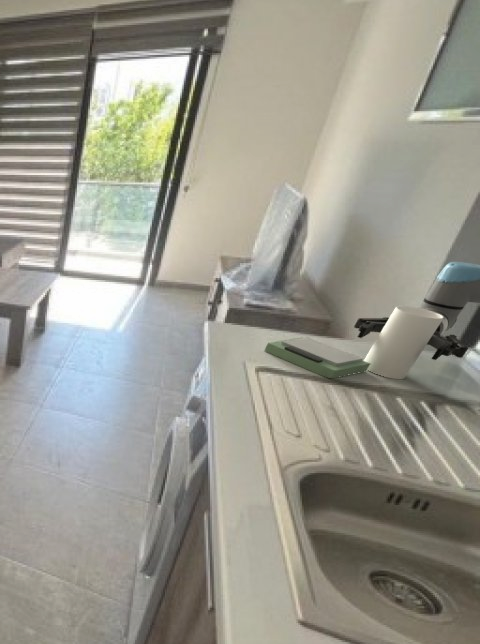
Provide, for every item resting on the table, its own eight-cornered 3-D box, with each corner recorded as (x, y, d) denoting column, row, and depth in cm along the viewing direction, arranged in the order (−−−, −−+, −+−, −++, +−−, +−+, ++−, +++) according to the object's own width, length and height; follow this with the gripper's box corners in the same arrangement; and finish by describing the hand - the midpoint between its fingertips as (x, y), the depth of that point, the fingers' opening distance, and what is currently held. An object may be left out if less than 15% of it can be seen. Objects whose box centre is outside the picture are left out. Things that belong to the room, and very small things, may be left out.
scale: (365, 371, 120) (372, 360, 118) (330, 379, 115) (336, 367, 114) (298, 345, 133) (303, 334, 131) (264, 350, 128) (269, 340, 127)
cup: (399, 369, 122) (437, 310, 114) (409, 382, 116) (449, 321, 108) (357, 360, 126) (391, 303, 118) (364, 372, 119) (401, 312, 112)
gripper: (482, 358, 119) (461, 378, 108) (355, 323, 137) (327, 337, 126) (502, 331, 115) (483, 349, 105) (369, 298, 133) (341, 311, 123)
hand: (397, 343), depth 115 cm, fingers open, 13 cm apart
